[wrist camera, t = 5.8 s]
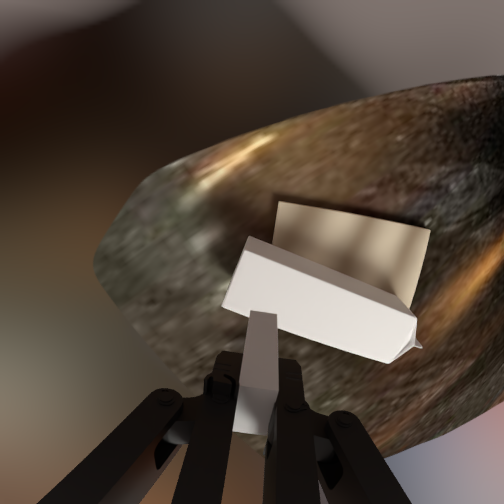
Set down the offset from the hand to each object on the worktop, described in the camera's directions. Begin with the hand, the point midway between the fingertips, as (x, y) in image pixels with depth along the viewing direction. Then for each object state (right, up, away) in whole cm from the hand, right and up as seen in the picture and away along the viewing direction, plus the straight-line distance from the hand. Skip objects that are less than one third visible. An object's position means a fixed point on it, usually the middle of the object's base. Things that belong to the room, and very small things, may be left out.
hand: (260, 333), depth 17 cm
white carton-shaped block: (-2, +3, +13) cm, 13 cm away
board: (+10, +3, +16) cm, 20 cm away
